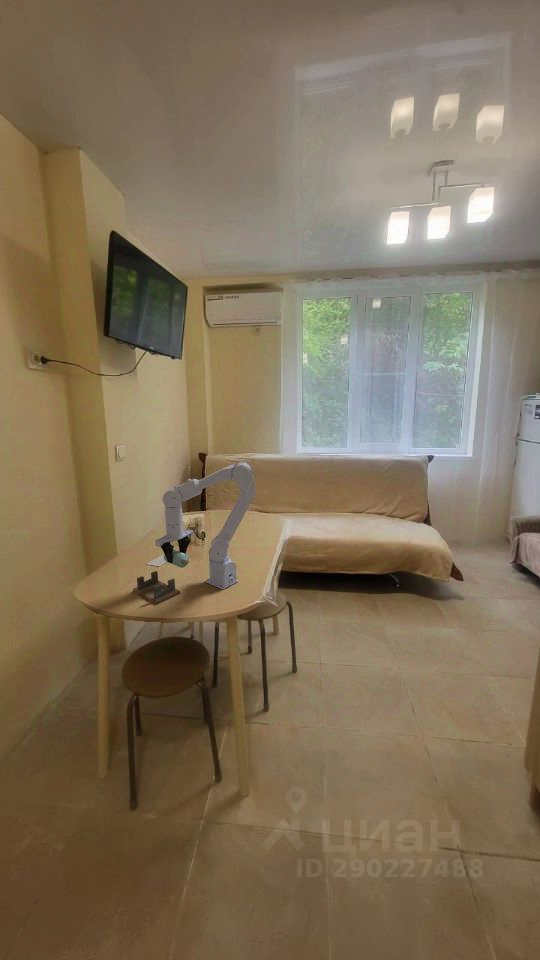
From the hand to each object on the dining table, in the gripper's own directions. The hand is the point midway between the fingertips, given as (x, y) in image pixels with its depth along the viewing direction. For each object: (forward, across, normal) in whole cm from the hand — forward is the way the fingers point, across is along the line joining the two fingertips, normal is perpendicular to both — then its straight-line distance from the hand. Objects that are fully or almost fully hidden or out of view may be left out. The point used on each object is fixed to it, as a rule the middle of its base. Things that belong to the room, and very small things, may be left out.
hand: (176, 560), depth 128 cm
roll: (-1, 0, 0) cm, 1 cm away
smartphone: (+9, -10, -23) cm, 27 cm away
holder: (+9, +9, 0) cm, 12 cm away
